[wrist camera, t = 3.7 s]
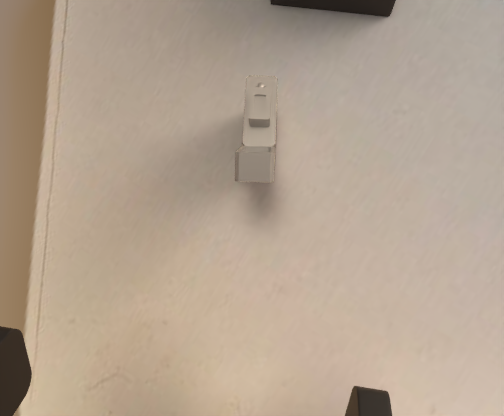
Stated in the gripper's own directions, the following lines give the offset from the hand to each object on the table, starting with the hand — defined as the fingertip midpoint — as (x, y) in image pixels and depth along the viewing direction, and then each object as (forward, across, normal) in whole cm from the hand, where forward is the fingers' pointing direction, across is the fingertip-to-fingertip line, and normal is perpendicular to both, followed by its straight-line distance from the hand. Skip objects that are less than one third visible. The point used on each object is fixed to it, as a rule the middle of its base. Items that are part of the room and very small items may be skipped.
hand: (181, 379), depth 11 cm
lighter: (+19, 0, +3) cm, 19 cm away
